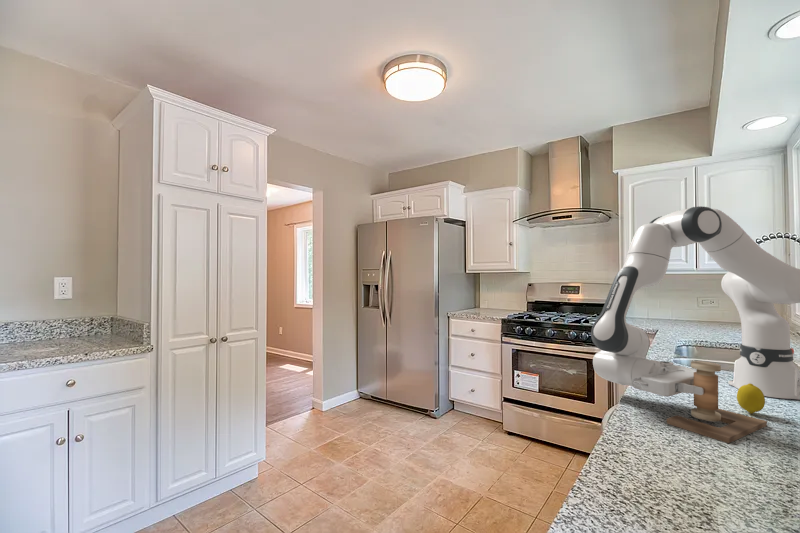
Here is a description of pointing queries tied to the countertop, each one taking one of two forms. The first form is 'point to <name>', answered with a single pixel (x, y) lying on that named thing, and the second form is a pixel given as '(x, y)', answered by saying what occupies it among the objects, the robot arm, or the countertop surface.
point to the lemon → (750, 398)
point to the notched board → (729, 433)
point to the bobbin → (706, 391)
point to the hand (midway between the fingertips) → (710, 389)
